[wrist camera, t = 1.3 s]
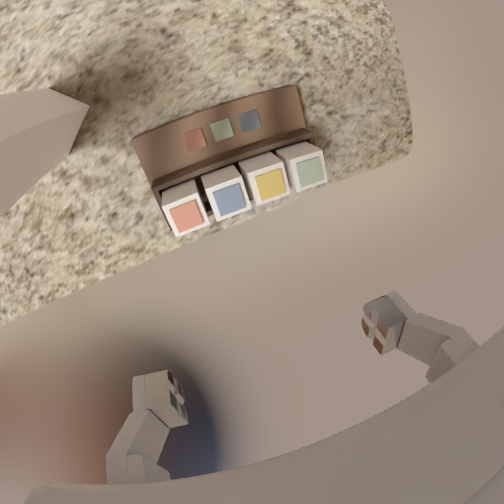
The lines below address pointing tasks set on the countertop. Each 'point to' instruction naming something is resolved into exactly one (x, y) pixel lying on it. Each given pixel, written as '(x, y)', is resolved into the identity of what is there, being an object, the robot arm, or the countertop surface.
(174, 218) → the key terracotta
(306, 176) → the key sage
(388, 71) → the countertop surface
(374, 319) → the robot arm
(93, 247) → the countertop surface
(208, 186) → the key slate
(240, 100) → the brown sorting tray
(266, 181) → the key mustard
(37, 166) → the milk
